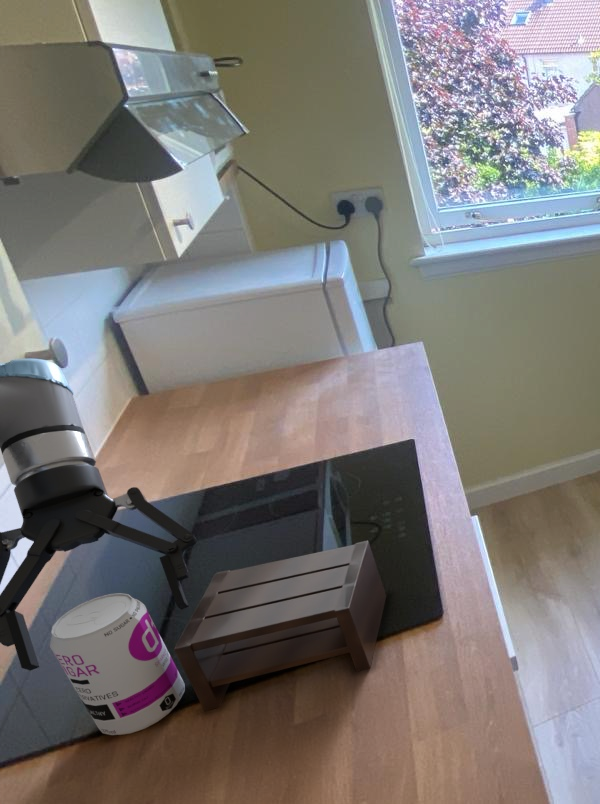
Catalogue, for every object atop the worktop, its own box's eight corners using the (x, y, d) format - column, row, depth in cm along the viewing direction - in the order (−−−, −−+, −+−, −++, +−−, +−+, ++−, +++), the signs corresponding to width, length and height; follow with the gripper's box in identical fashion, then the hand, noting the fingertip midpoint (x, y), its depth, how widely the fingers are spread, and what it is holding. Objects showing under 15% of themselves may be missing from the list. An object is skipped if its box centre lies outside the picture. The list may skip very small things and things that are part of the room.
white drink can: (197, 674, 94) (152, 582, 87) (170, 727, 86) (118, 631, 80) (121, 692, 91) (69, 599, 85) (86, 748, 84) (26, 651, 78)
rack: (204, 711, 88) (173, 649, 84) (241, 630, 100) (215, 572, 96) (370, 668, 94) (348, 608, 90) (386, 596, 106) (368, 540, 102)
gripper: (188, 448, 100) (242, 589, 96) (-78, 528, 85) (-28, 699, 81) (177, 429, 95) (234, 577, 90) (-111, 511, 79) (-58, 693, 75)
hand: (110, 635), depth 86 cm, fingers open, 13 cm apart
